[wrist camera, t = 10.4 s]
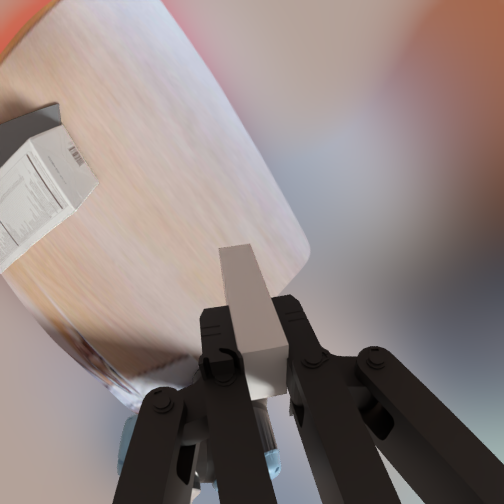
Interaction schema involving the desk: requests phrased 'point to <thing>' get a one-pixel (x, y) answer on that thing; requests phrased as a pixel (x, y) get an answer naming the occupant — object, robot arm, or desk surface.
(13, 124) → the mat
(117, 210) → the desk surface
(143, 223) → the desk surface
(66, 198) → the supplement box
